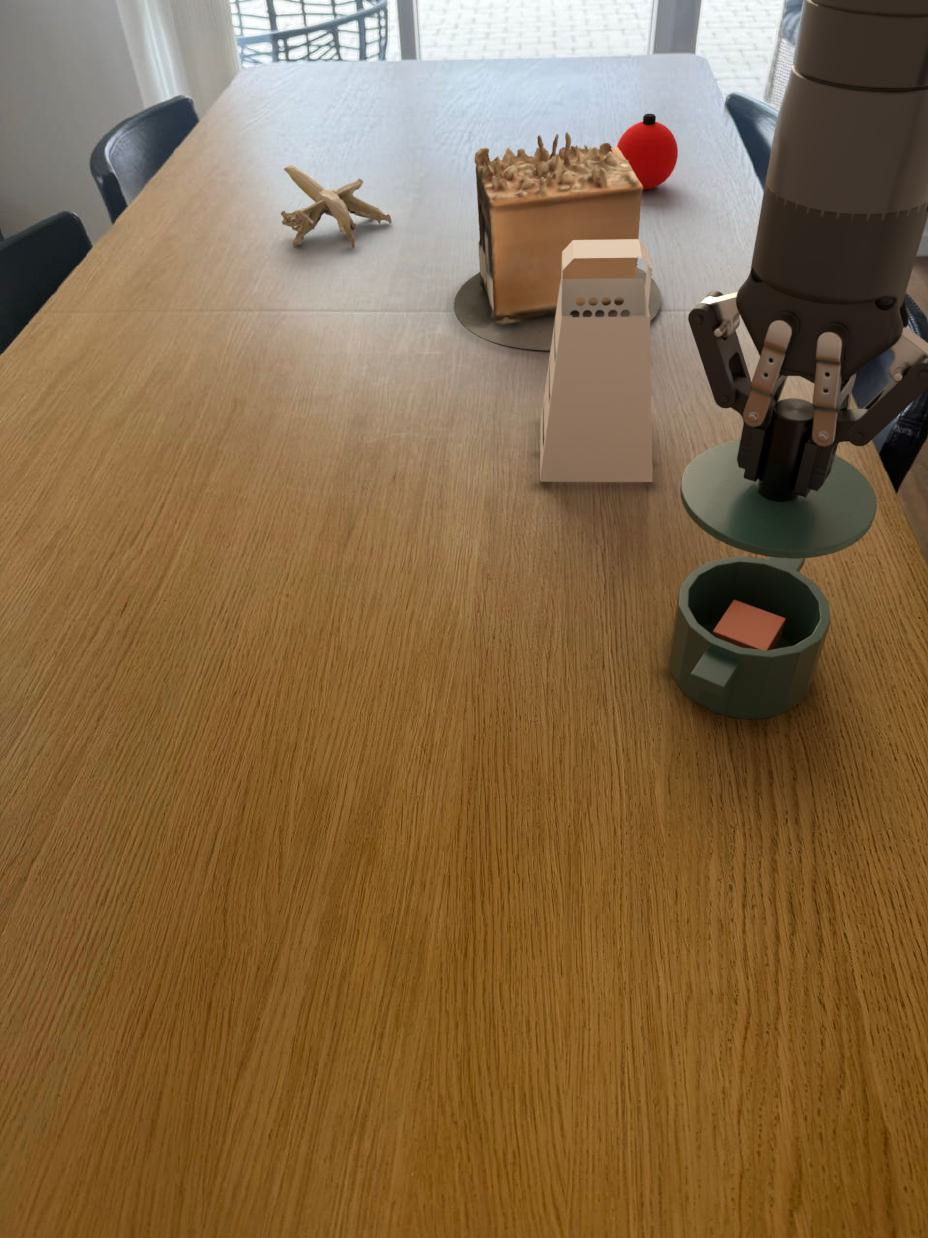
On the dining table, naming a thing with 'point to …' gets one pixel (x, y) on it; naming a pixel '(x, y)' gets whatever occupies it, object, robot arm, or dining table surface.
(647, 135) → the ornament
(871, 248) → the robot arm
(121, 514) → the dining table surface
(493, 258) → the planter
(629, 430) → the grater
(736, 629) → the block
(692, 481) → the lid
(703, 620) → the pot
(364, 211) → the branching beige root
